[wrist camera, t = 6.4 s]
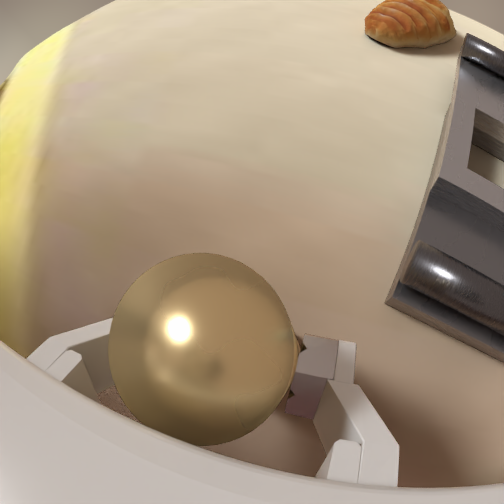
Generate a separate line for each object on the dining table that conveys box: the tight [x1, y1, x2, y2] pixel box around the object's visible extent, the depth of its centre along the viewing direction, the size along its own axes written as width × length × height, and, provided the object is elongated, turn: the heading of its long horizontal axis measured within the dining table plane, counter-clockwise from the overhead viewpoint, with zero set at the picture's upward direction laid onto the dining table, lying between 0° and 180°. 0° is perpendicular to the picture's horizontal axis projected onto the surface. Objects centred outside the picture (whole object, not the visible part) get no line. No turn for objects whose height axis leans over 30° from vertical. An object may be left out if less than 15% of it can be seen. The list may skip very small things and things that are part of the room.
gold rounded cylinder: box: [108, 253, 301, 446], centre depth 10 cm, size 4×4×10 cm
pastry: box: [365, 0, 456, 48], centre depth 20 cm, size 9×7×4 cm
